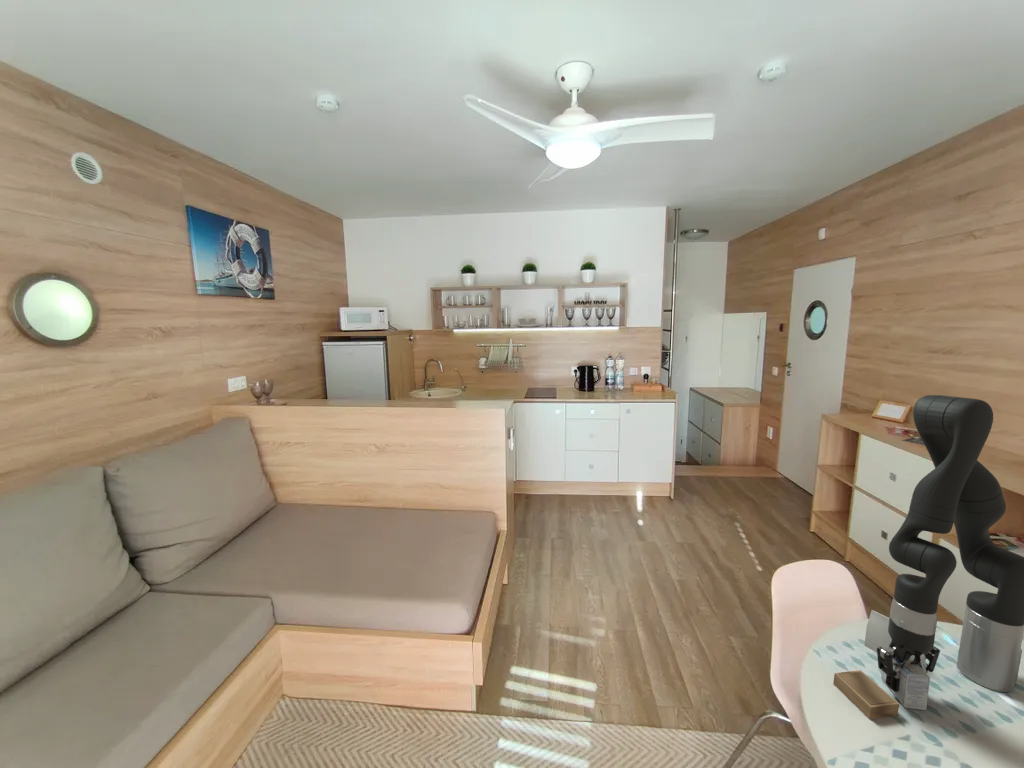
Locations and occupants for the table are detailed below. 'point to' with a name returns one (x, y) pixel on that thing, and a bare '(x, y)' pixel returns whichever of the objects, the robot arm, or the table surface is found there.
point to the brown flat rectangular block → (866, 694)
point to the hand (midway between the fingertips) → (903, 686)
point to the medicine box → (912, 687)
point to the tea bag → (877, 632)
